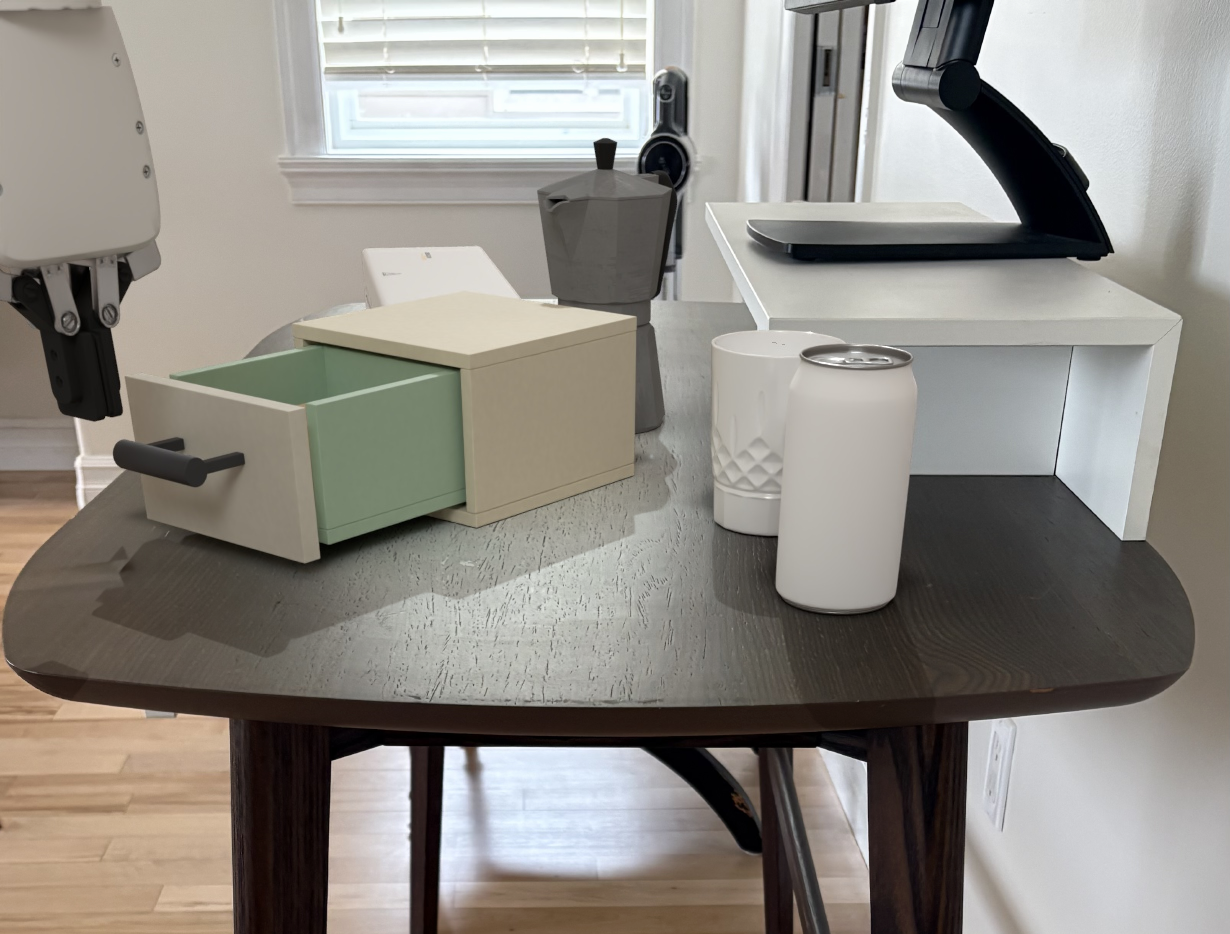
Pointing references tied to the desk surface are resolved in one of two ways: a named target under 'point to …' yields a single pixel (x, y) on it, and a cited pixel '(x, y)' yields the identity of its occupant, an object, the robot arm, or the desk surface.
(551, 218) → the coffeepot
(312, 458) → the drawer
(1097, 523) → the desk surface
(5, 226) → the robot arm
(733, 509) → the white cup
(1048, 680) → the desk surface
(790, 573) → the can
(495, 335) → the cabinet
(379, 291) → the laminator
